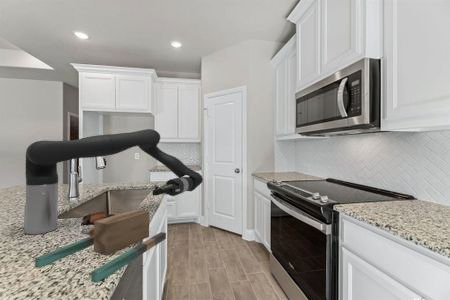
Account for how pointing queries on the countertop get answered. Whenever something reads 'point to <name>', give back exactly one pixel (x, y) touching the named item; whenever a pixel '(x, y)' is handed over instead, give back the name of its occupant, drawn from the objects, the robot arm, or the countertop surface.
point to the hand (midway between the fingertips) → (154, 192)
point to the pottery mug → (94, 219)
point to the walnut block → (120, 231)
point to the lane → (109, 266)
